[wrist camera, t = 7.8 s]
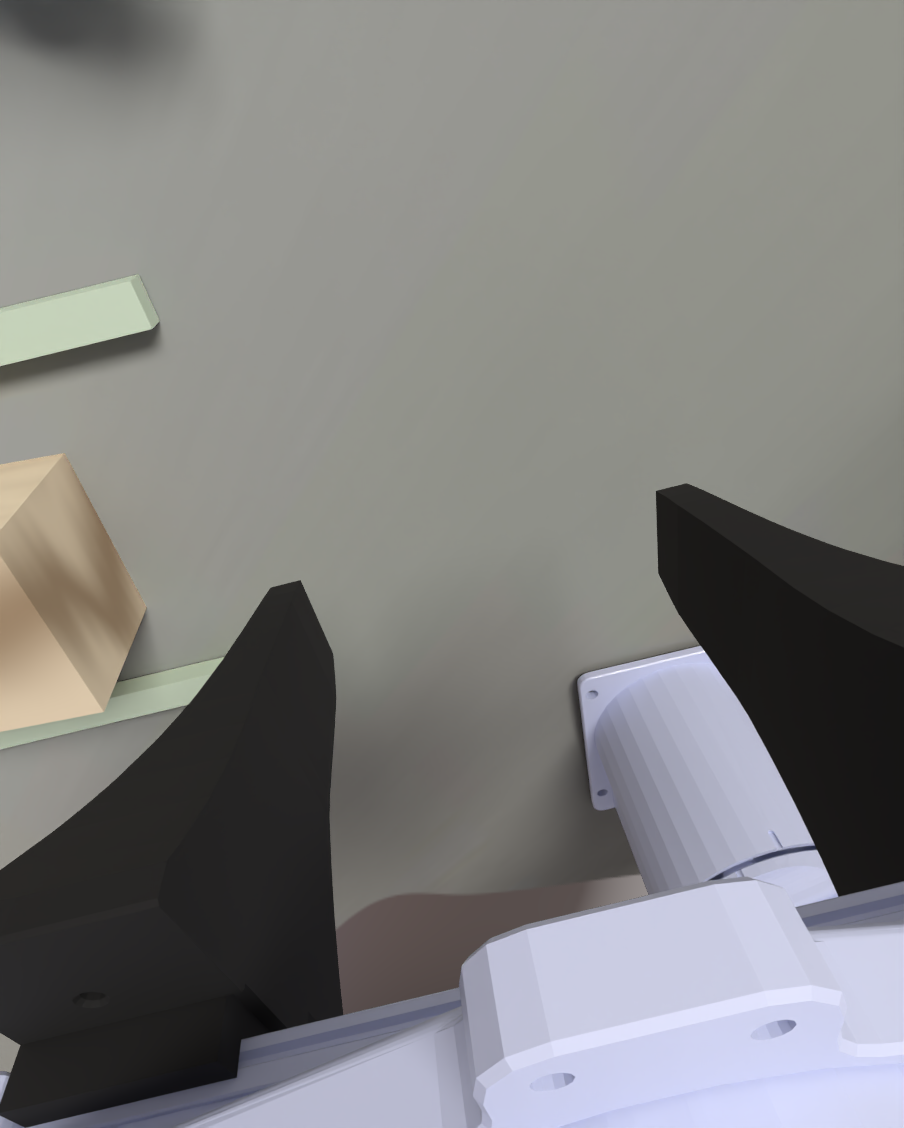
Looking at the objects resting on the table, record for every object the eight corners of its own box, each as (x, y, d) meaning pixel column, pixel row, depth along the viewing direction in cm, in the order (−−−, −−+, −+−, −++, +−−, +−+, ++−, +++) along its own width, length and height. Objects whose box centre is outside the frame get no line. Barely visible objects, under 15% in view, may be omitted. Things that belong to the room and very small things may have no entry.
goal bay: (313, 660, 25) (312, 675, 24) (-40, 744, 25) (-50, 761, 25) (138, 274, 17) (130, 280, 16) (-383, 402, 17) (-412, 413, 16)
